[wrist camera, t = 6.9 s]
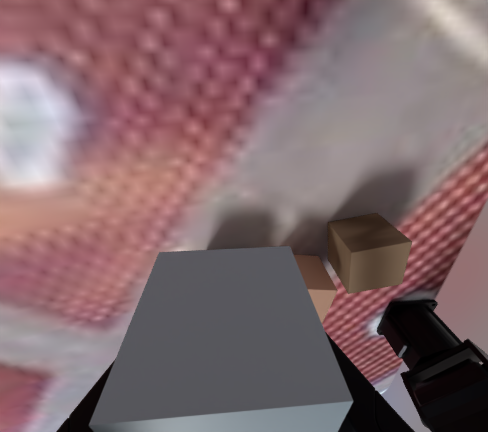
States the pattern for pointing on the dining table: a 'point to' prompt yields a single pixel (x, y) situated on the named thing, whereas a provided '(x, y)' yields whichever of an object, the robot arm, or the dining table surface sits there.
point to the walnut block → (367, 252)
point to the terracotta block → (317, 283)
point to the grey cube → (224, 350)
